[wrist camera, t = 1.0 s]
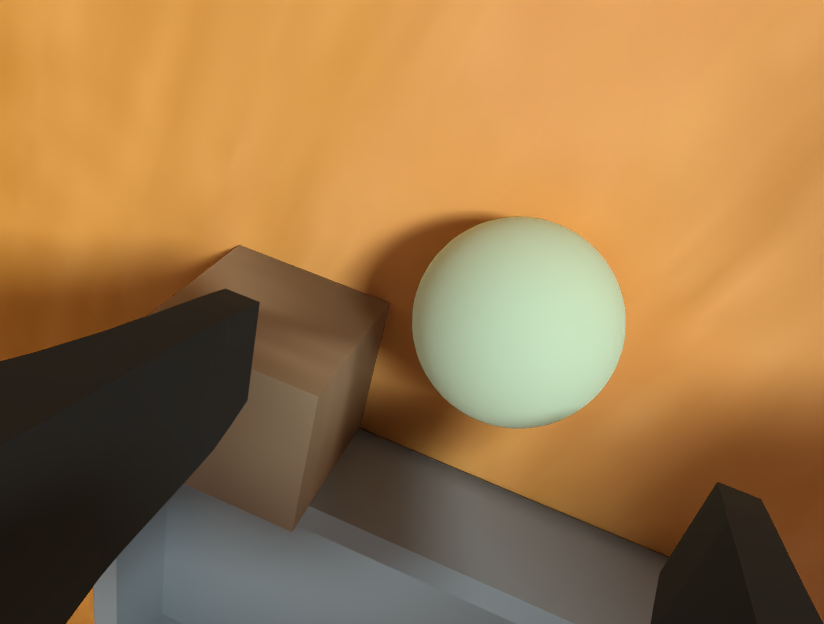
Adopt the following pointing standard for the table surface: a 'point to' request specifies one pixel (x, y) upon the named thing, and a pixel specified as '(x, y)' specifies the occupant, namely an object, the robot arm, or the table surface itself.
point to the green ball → (518, 322)
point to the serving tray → (379, 556)
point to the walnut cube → (290, 384)
